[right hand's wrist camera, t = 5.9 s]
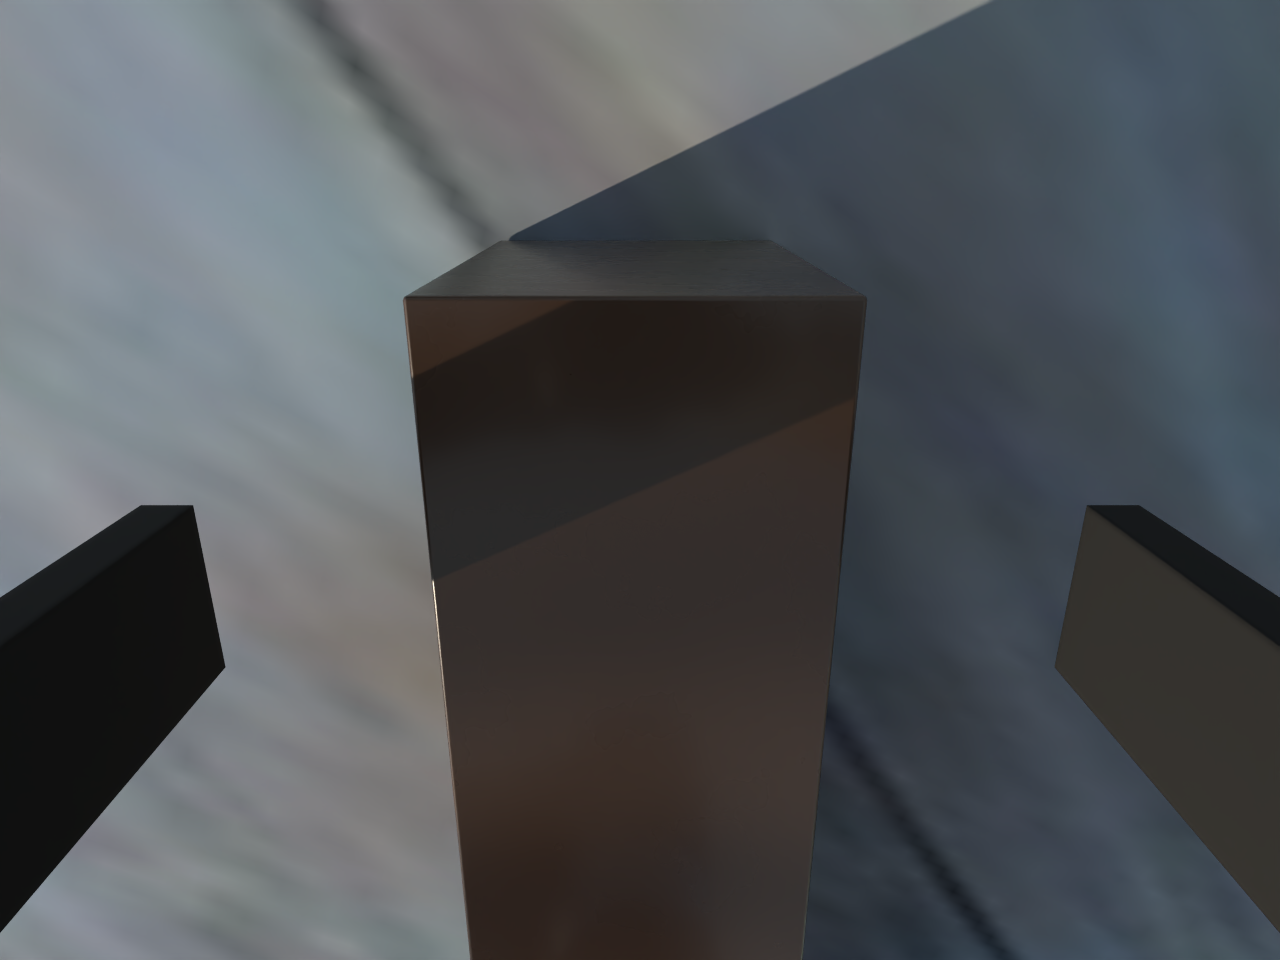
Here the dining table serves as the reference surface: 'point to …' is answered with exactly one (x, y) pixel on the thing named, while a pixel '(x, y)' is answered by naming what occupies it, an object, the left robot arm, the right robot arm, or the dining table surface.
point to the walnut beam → (635, 585)
